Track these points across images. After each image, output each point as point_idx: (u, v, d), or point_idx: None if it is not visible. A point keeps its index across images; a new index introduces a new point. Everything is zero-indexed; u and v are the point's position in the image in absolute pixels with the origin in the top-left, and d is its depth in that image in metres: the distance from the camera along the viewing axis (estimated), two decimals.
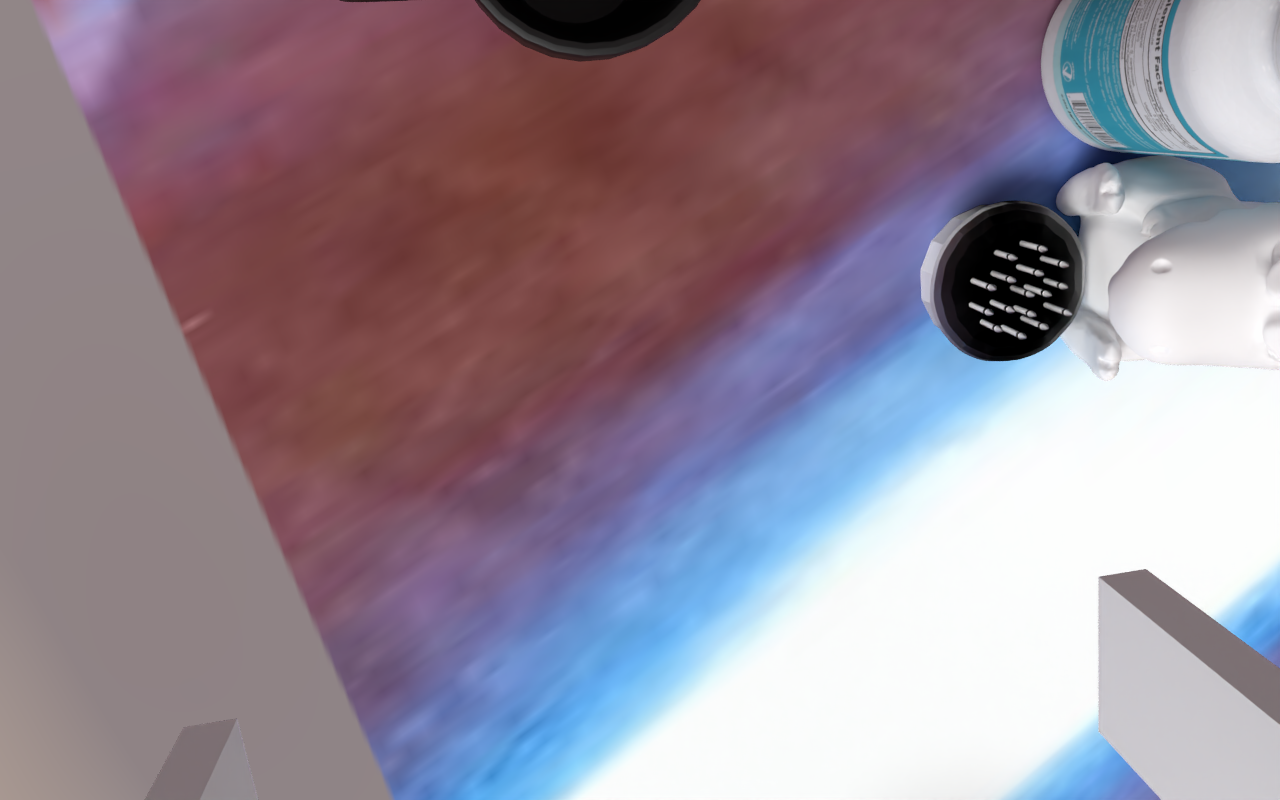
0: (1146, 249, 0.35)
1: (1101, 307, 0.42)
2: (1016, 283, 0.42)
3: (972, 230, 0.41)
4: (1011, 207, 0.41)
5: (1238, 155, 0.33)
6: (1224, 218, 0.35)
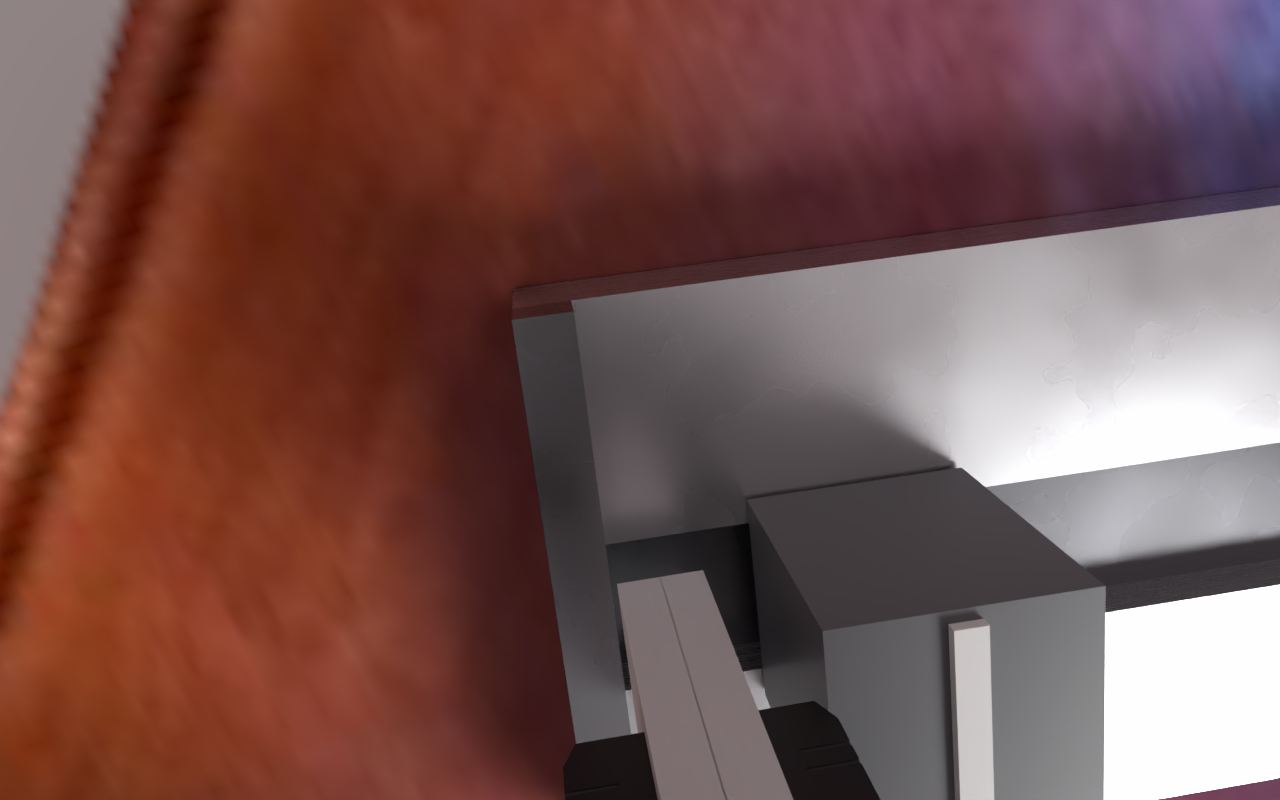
0: None
1: None
2: None
3: None
4: None
5: None
6: None
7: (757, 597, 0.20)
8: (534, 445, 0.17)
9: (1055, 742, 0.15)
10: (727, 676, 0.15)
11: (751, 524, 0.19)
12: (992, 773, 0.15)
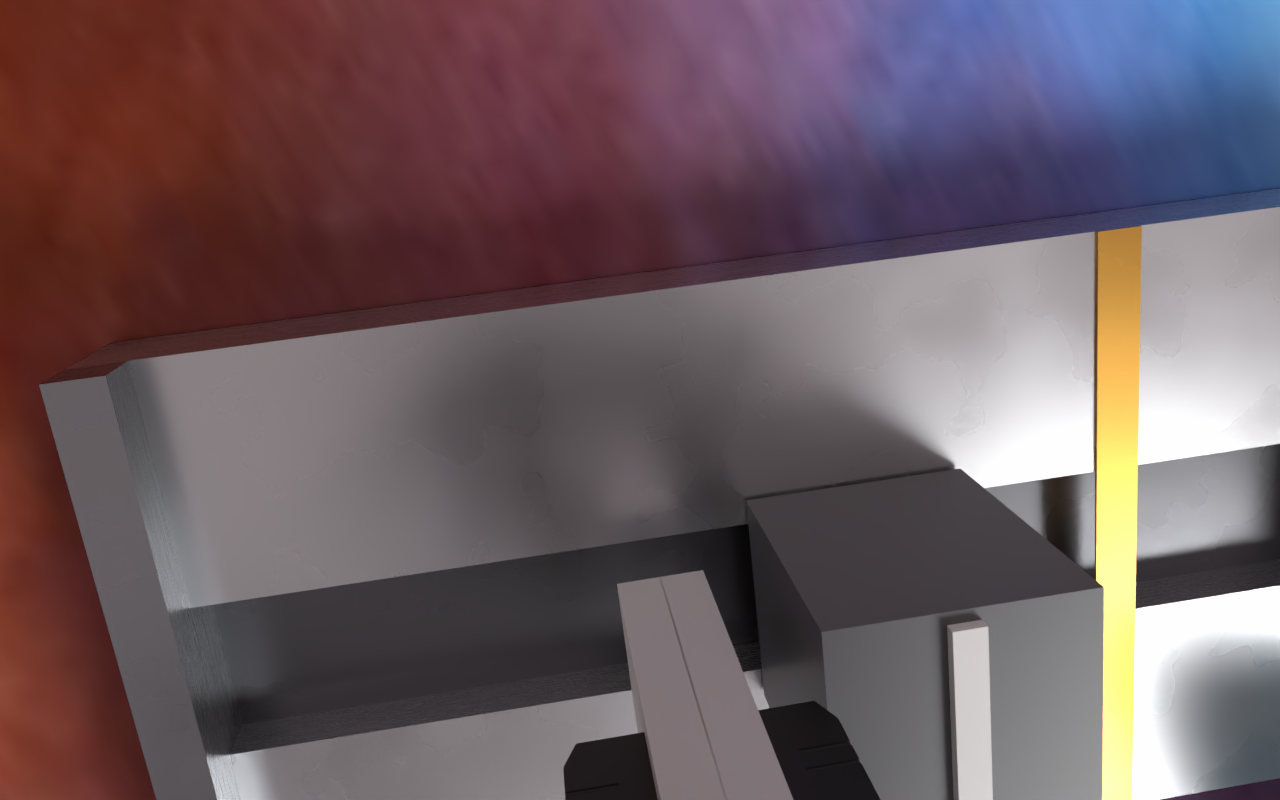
0: None
1: None
2: None
3: None
4: None
5: None
6: None
7: (756, 598, 0.20)
8: (78, 511, 0.17)
9: (1053, 743, 0.15)
10: (727, 676, 0.15)
11: (750, 525, 0.19)
12: (990, 774, 0.15)
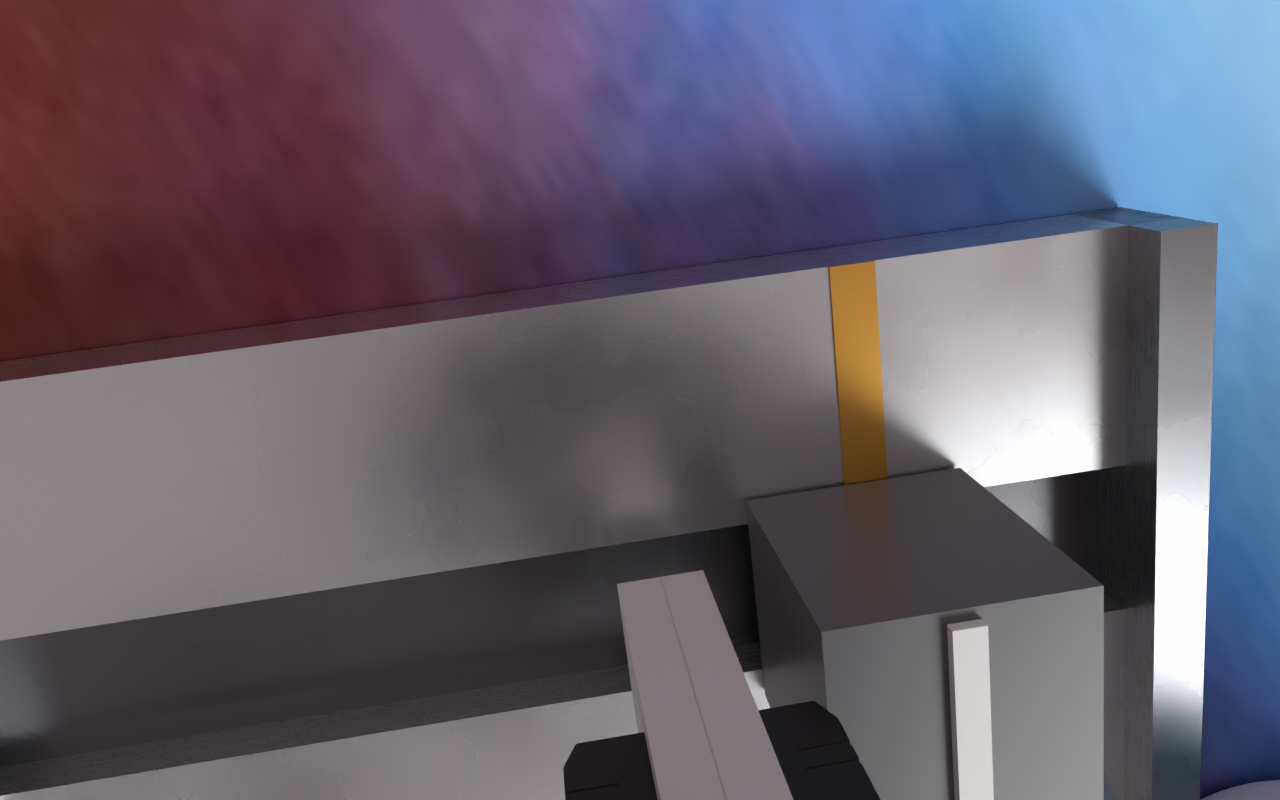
0: None
1: None
2: None
3: None
4: None
5: None
6: None
7: (757, 598, 0.20)
8: None
9: (1054, 741, 0.15)
10: (727, 676, 0.15)
11: (750, 525, 0.19)
12: (991, 773, 0.15)
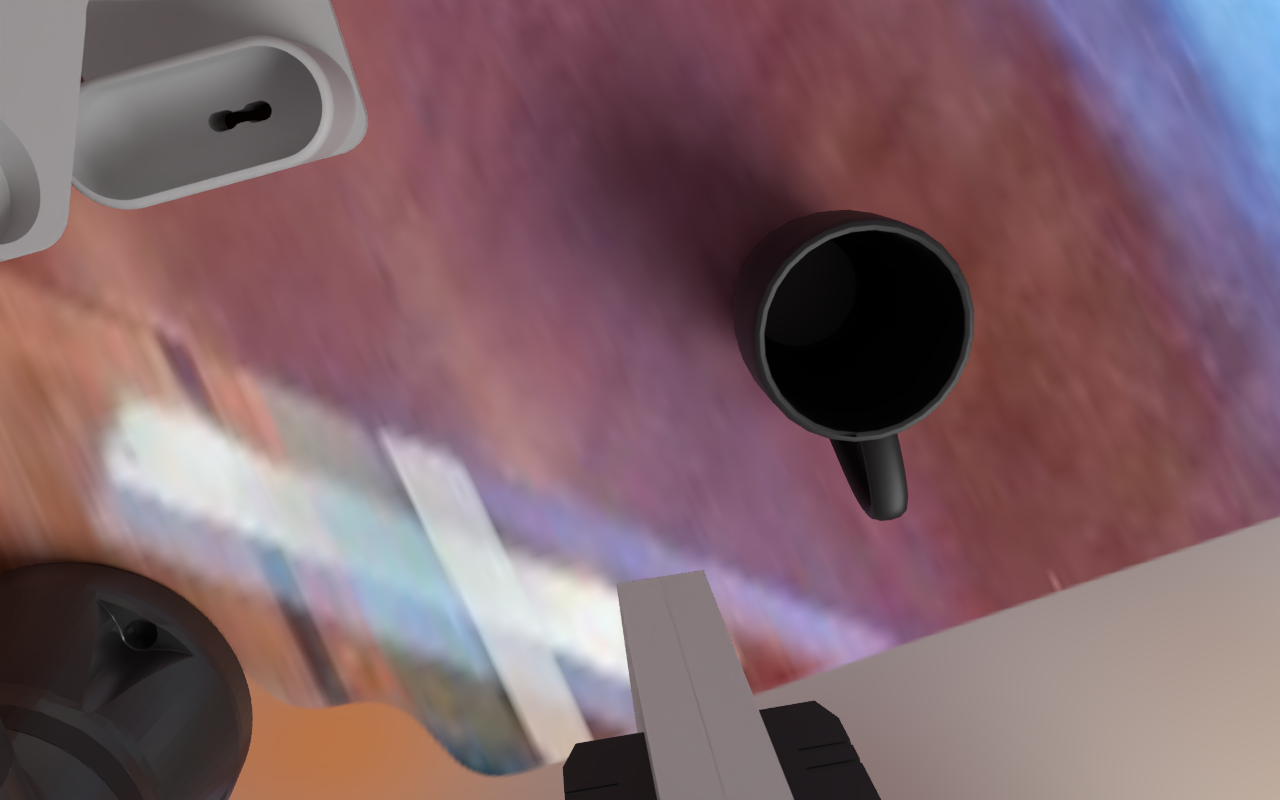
0: None
1: None
2: None
3: None
4: None
5: None
6: None
7: None
8: None
9: None
10: (728, 676, 0.15)
11: None
12: None
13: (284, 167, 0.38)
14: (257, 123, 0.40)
